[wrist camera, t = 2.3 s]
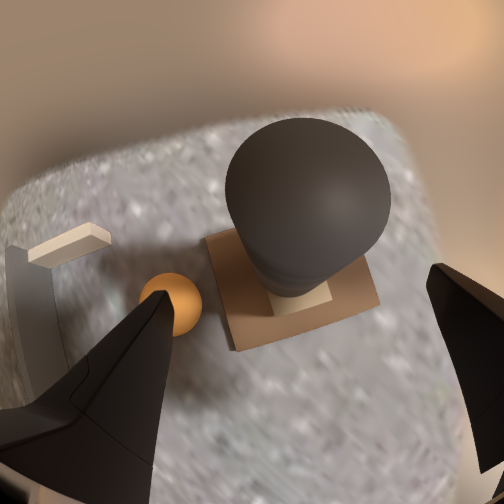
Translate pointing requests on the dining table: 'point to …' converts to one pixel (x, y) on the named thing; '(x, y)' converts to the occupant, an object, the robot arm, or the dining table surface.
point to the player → (305, 206)
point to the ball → (177, 299)
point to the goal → (43, 303)
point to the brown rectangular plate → (258, 303)
